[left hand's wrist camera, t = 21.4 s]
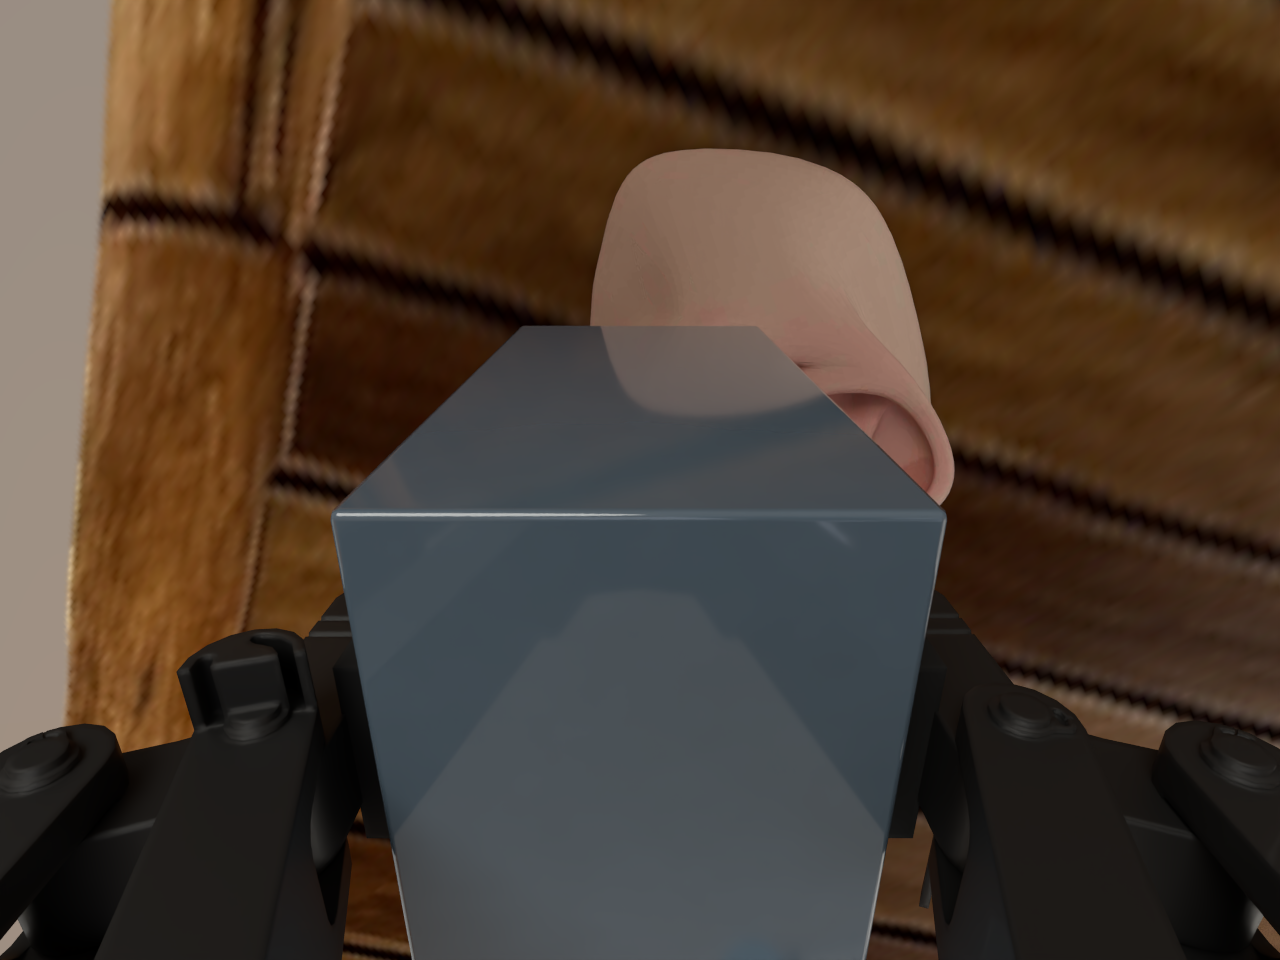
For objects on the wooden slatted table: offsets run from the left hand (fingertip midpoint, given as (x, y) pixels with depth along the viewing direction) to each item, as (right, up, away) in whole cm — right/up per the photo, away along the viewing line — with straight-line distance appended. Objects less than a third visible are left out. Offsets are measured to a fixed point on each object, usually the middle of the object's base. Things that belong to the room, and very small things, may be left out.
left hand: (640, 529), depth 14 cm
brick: (0, +1, +3) cm, 3 cm away
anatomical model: (+4, +6, +9) cm, 12 cm away
